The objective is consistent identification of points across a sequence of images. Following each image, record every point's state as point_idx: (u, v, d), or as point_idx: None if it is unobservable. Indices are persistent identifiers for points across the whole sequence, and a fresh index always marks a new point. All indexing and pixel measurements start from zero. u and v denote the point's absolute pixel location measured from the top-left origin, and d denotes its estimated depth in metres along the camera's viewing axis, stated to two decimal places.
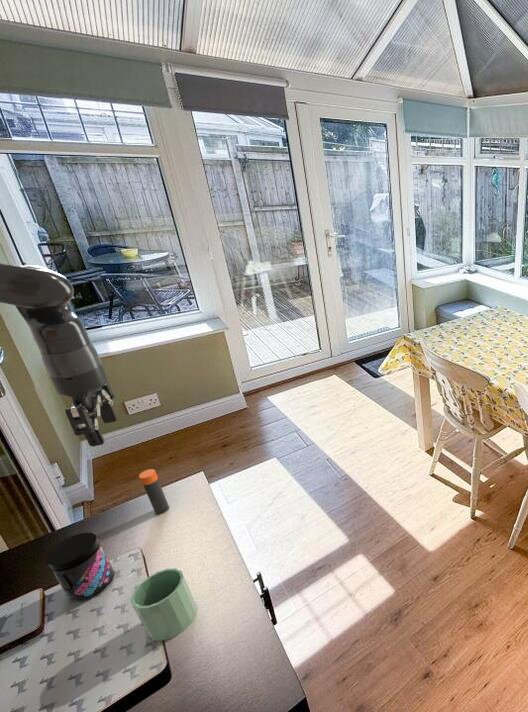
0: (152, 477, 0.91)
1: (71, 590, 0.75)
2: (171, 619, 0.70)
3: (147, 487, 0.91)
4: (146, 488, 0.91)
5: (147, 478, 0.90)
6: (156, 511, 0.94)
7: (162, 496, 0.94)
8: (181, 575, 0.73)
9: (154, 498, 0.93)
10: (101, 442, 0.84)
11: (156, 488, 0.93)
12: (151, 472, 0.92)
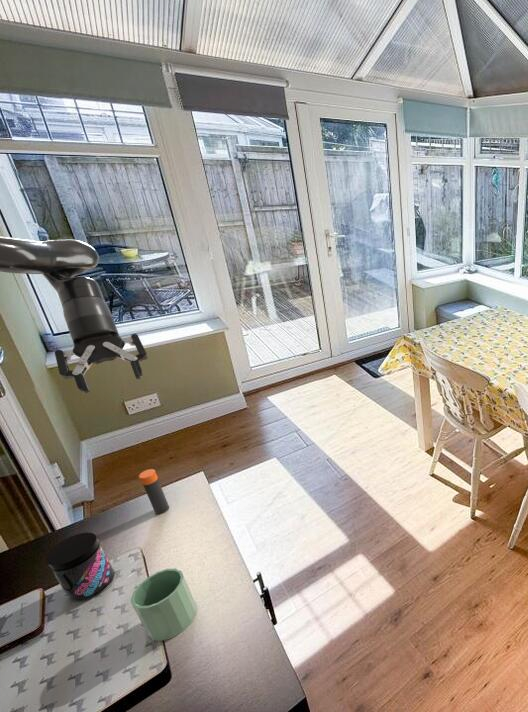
0: (152, 477, 0.91)
1: (71, 590, 0.75)
2: (171, 619, 0.70)
3: (147, 487, 0.91)
4: (146, 488, 0.91)
5: (147, 478, 0.90)
6: (156, 511, 0.94)
7: (162, 496, 0.94)
8: (181, 575, 0.73)
9: (154, 498, 0.93)
10: None
11: (156, 488, 0.93)
12: (151, 472, 0.92)
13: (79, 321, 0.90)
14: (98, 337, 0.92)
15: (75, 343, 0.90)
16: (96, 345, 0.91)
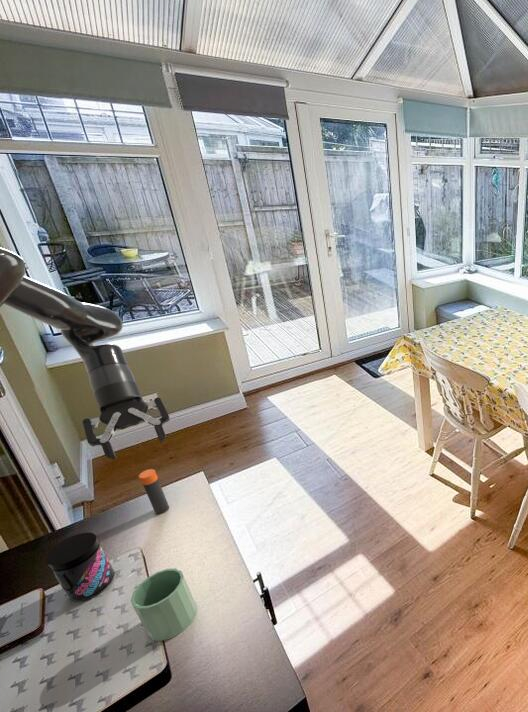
0: (152, 477, 0.91)
1: (71, 590, 0.75)
2: (171, 619, 0.70)
3: (147, 487, 0.91)
4: (146, 488, 0.91)
5: (147, 478, 0.90)
6: (156, 511, 0.94)
7: (162, 496, 0.94)
8: (181, 575, 0.73)
9: (154, 498, 0.93)
10: None
11: (156, 488, 0.93)
12: (151, 472, 0.92)
13: (105, 389, 0.93)
14: (123, 404, 0.95)
15: (101, 411, 0.93)
16: (121, 411, 0.95)
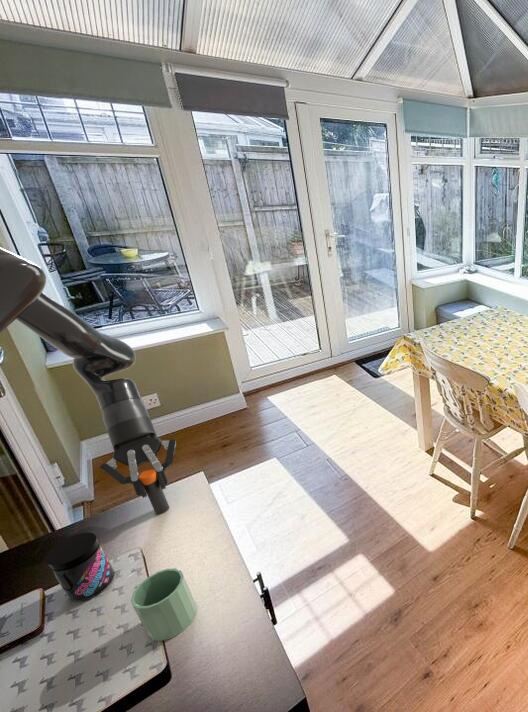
0: (152, 477, 0.91)
1: (71, 590, 0.75)
2: (171, 619, 0.70)
3: (147, 487, 0.91)
4: (146, 488, 0.91)
5: (147, 478, 0.90)
6: (156, 511, 0.94)
7: (162, 496, 0.94)
8: (181, 575, 0.73)
9: (154, 497, 0.93)
10: None
11: (156, 488, 0.93)
12: (151, 472, 0.92)
13: (119, 427, 0.91)
14: (137, 440, 0.93)
15: (115, 449, 0.91)
16: (135, 448, 0.92)
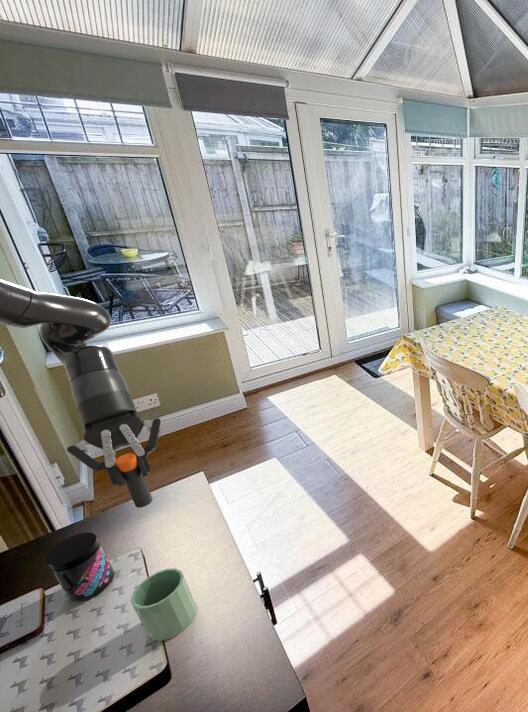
0: (131, 463, 0.76)
1: (71, 590, 0.75)
2: (171, 619, 0.70)
3: (125, 474, 0.76)
4: (124, 476, 0.76)
5: (125, 463, 0.75)
6: (137, 504, 0.79)
7: (144, 486, 0.79)
8: (181, 575, 0.73)
9: (135, 488, 0.77)
10: (147, 474, 0.78)
11: (136, 476, 0.77)
12: (130, 457, 0.76)
13: (91, 402, 0.75)
14: (113, 419, 0.77)
15: (86, 428, 0.75)
16: (111, 428, 0.77)
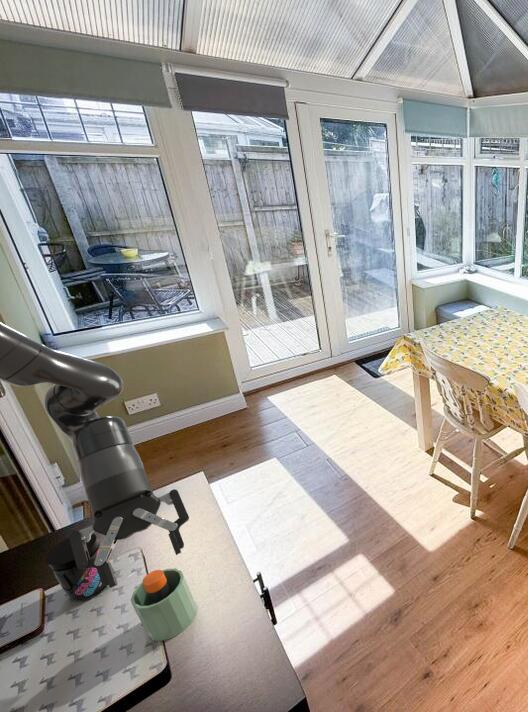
0: (160, 582, 0.69)
1: (71, 590, 0.75)
2: (171, 619, 0.70)
3: (152, 595, 0.69)
4: (152, 596, 0.70)
5: (153, 585, 0.69)
6: None
7: None
8: (181, 575, 0.73)
9: None
10: None
11: (165, 595, 0.71)
12: (158, 576, 0.70)
13: (102, 486, 0.66)
14: (126, 503, 0.68)
15: (96, 516, 0.66)
16: (124, 514, 0.68)
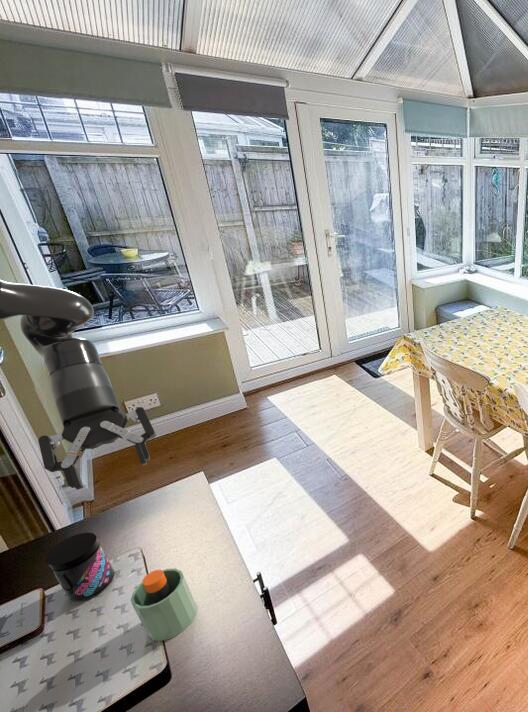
0: (160, 582, 0.69)
1: (71, 590, 0.75)
2: (171, 619, 0.70)
3: (152, 595, 0.69)
4: (152, 596, 0.70)
5: (153, 585, 0.69)
6: None
7: None
8: (181, 575, 0.73)
9: None
10: None
11: (165, 595, 0.71)
12: (158, 576, 0.70)
13: (70, 397, 0.71)
14: (94, 415, 0.73)
15: (65, 425, 0.71)
16: (92, 425, 0.73)
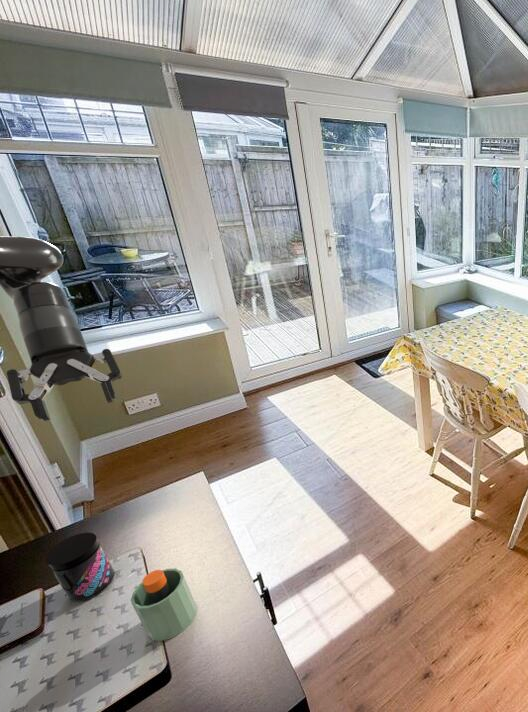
0: (160, 582, 0.69)
1: (71, 590, 0.75)
2: (171, 619, 0.70)
3: (152, 595, 0.69)
4: (152, 596, 0.70)
5: (153, 585, 0.69)
6: None
7: None
8: (181, 575, 0.73)
9: None
10: None
11: (165, 595, 0.71)
12: (158, 576, 0.70)
13: (38, 335, 0.75)
14: (61, 354, 0.77)
15: (33, 361, 0.75)
16: (59, 362, 0.77)
